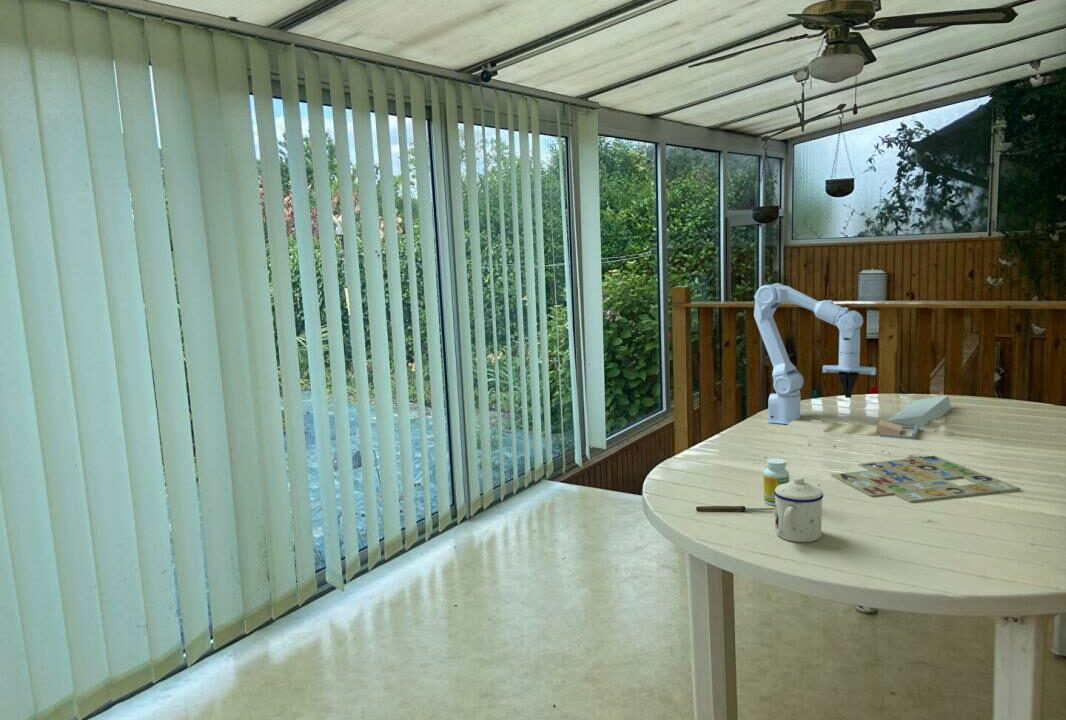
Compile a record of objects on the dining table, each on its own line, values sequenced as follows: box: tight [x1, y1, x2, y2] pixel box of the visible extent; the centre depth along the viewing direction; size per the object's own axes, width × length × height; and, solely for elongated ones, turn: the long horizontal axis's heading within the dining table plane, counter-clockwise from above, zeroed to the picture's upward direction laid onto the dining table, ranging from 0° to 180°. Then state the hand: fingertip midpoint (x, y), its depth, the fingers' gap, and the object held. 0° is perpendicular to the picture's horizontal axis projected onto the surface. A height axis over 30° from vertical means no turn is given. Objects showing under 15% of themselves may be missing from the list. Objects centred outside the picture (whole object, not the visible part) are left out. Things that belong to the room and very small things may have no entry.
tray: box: [879, 424, 920, 441], centre depth 212 cm, size 9×12×3 cm
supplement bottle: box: [763, 457, 790, 507], centre depth 165 cm, size 5×5×10 cm
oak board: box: [823, 422, 880, 437], centre depth 218 cm, size 15×12×2 cm
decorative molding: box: [886, 395, 952, 427], centre depth 235 cm, size 34×5×10 cm
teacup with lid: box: [774, 476, 824, 543], centre depth 145 cm, size 12×9×12 cm
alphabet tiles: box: [830, 455, 1021, 504], centre depth 177 cm, size 33×28×1 cm
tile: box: [876, 419, 904, 435], centre depth 213 cm, size 6×6×2 cm
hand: (848, 397), depth 222 cm, fingers closed
